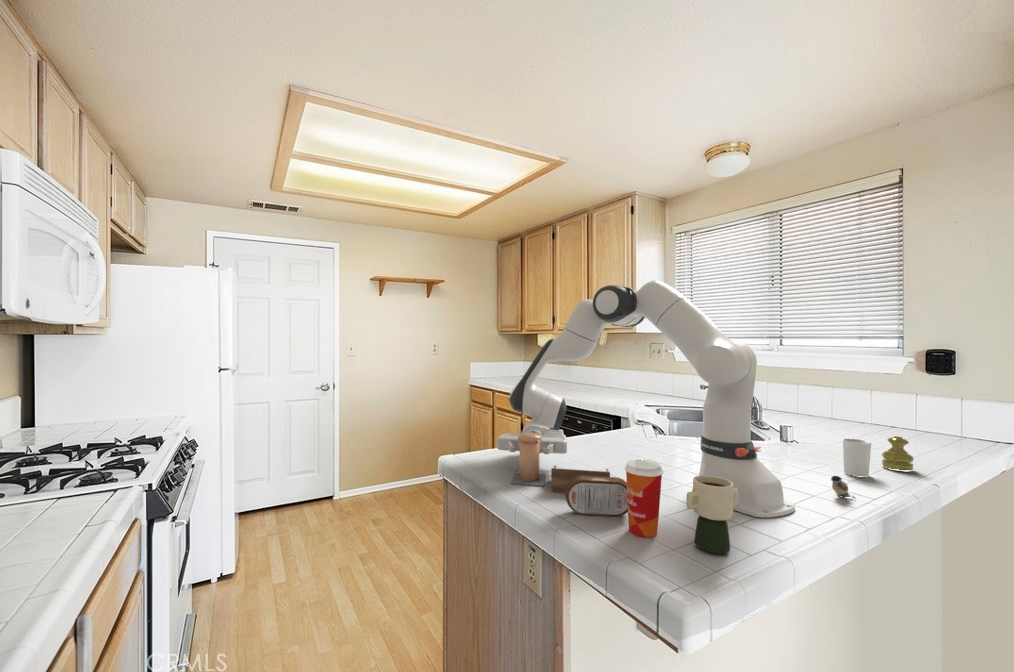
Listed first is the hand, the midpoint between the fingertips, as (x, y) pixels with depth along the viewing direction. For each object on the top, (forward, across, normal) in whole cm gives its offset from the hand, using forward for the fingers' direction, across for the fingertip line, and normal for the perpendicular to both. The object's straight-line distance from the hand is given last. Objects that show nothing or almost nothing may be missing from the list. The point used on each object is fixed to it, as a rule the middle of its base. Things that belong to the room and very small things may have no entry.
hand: (529, 450), depth 124 cm
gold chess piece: (-35, +110, +9) cm, 116 cm away
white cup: (-26, +94, +9) cm, 98 cm away
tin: (+19, +18, +9) cm, 28 cm away
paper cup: (+27, +27, +9) cm, 39 cm away
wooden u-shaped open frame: (+3, +14, +8) cm, 17 cm away
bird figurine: (-3, +78, +9) cm, 79 cm away
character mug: (+32, +39, +9) cm, 51 cm away
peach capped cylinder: (-1, 0, +8) cm, 8 cm away
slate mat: (-1, 0, +8) cm, 8 cm away
